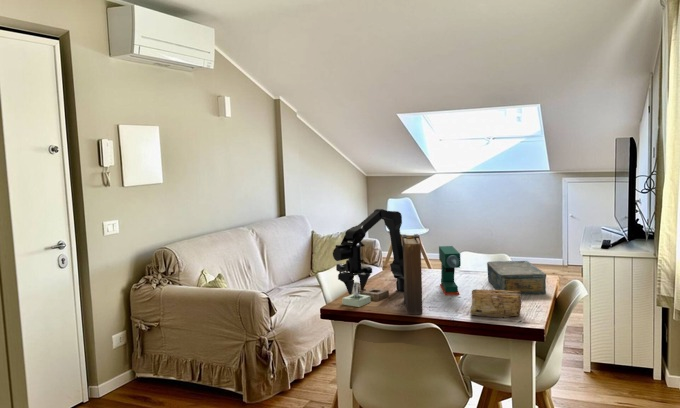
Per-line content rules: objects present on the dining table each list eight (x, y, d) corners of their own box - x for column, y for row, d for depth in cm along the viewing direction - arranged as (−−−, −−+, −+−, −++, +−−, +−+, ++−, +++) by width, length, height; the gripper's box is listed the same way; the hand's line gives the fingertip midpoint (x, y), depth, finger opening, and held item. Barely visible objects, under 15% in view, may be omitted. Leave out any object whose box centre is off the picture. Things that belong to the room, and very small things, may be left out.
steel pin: (361, 302, 244) (361, 283, 243) (357, 304, 242) (356, 284, 241) (355, 301, 246) (355, 282, 245) (351, 303, 244) (351, 283, 243)
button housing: (366, 295, 259) (365, 288, 259) (360, 297, 256) (360, 290, 256) (358, 294, 262) (358, 287, 262) (353, 296, 258) (352, 289, 258)
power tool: (465, 302, 239) (464, 257, 238) (449, 302, 239) (448, 257, 238) (454, 285, 271) (453, 245, 269) (439, 286, 271) (438, 246, 270)
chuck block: (388, 296, 254) (388, 290, 254) (378, 301, 247) (378, 294, 247) (372, 294, 260) (372, 288, 259) (362, 299, 253) (361, 292, 252)
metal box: (528, 279, 279) (528, 260, 278) (548, 295, 246) (547, 273, 246) (486, 280, 280) (485, 261, 279) (500, 296, 248) (499, 274, 247)
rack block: (370, 303, 245) (370, 295, 245) (359, 307, 238) (358, 300, 238) (354, 300, 250) (354, 293, 250) (342, 305, 243) (342, 298, 243)
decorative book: (404, 300, 246) (401, 234, 244) (420, 300, 246) (417, 234, 244) (406, 315, 223) (404, 242, 221) (424, 315, 223) (421, 242, 220)
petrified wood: (520, 309, 223) (520, 287, 220) (521, 325, 211) (521, 302, 208) (471, 306, 229) (471, 284, 226) (469, 322, 217) (469, 299, 214)
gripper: (352, 253, 255) (353, 286, 256) (327, 259, 240) (329, 294, 241) (372, 254, 248) (373, 288, 249) (347, 261, 233) (349, 297, 234)
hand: (356, 292), depth 244 cm, fingers open, 9 cm apart
